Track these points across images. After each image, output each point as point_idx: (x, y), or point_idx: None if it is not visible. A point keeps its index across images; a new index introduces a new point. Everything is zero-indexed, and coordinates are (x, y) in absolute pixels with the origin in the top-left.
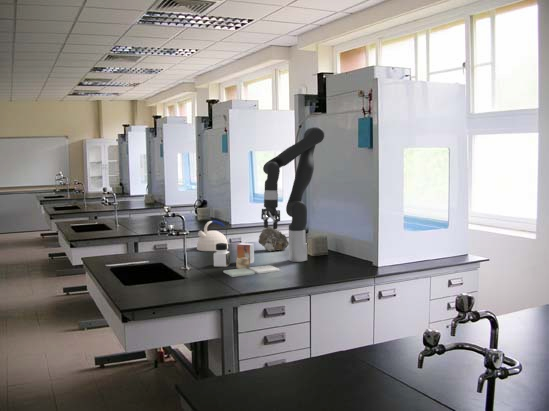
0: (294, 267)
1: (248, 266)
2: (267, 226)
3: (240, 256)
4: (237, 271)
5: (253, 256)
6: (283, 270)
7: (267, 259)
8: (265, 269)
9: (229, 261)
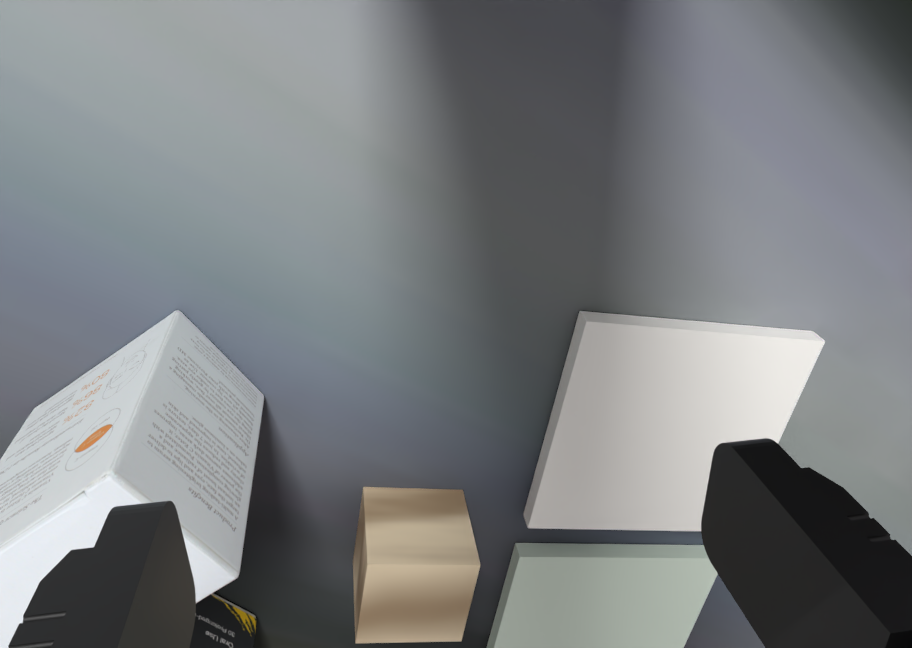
0: (824, 91)
1: (464, 504)
2: (164, 539)
3: None
4: (592, 642)
5: (181, 365)
6: (820, 286)
7: (79, 44)
8: None
9: None
